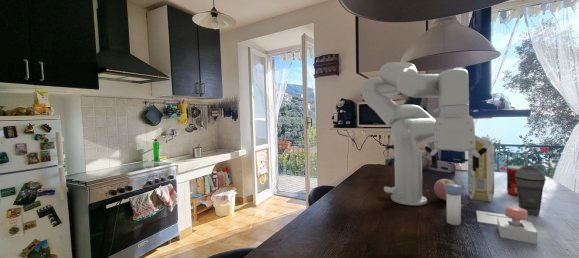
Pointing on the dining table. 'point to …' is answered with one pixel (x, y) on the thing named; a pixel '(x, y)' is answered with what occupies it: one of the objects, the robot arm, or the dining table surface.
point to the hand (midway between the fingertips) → (454, 169)
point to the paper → (489, 217)
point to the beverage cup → (530, 188)
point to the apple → (442, 188)
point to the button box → (517, 230)
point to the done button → (516, 214)
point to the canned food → (512, 180)
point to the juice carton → (482, 174)
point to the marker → (453, 204)
